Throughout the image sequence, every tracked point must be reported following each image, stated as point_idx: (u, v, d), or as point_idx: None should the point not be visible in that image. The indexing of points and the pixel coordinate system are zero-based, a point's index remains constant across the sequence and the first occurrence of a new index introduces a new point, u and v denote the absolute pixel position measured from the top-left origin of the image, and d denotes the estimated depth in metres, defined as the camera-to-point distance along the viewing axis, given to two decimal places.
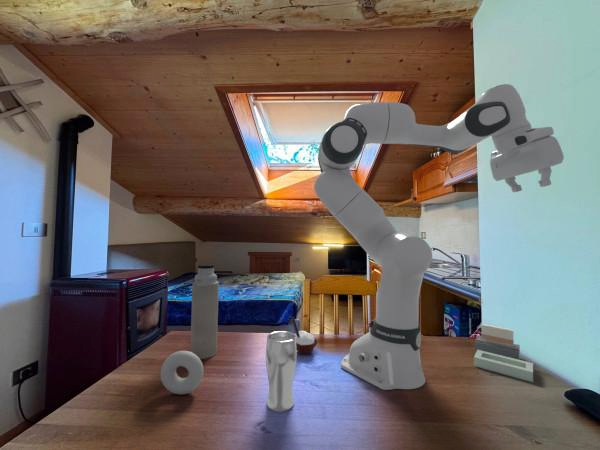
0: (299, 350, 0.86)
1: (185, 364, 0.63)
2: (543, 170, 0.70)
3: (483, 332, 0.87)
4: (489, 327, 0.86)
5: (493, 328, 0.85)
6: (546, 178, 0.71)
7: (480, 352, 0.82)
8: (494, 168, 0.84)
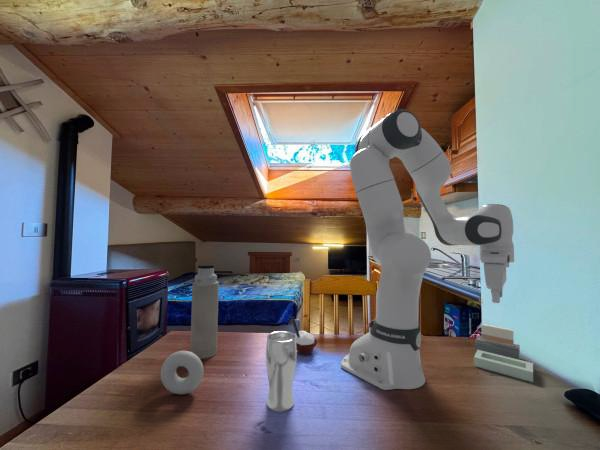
0: (299, 350, 0.86)
1: (185, 364, 0.63)
2: (491, 289, 0.82)
3: (483, 332, 0.87)
4: (489, 327, 0.86)
5: (493, 328, 0.85)
6: (495, 296, 0.82)
7: (480, 352, 0.82)
8: None
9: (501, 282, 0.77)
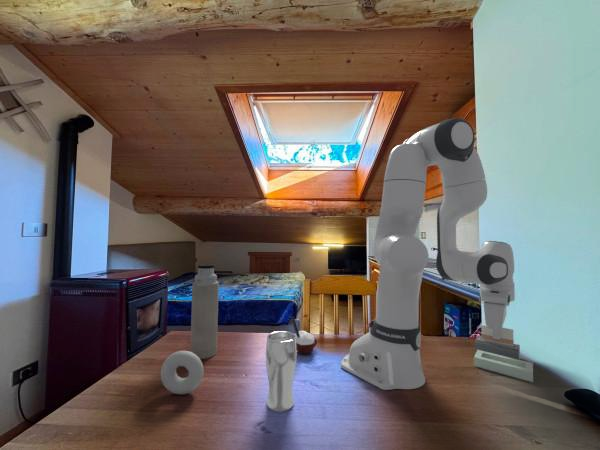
0: (299, 350, 0.86)
1: (185, 364, 0.63)
2: None
3: (483, 332, 0.87)
4: None
5: None
6: (496, 333, 0.84)
7: (480, 352, 0.82)
8: None
9: (501, 323, 0.77)
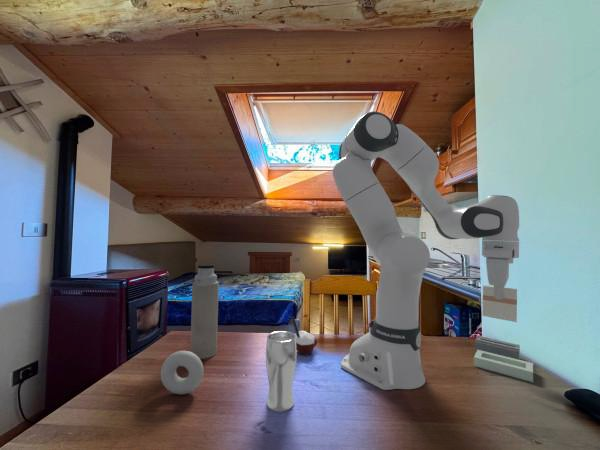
0: (299, 350, 0.86)
1: (185, 364, 0.63)
2: None
3: (484, 293, 0.81)
4: (491, 287, 0.81)
5: None
6: (498, 292, 0.78)
7: (480, 352, 0.82)
8: None
9: (505, 278, 0.71)
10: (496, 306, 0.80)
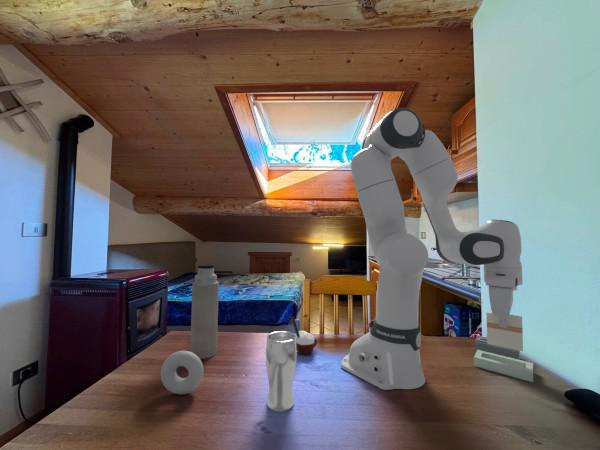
0: (299, 350, 0.86)
1: (185, 364, 0.63)
2: None
3: (488, 320, 0.79)
4: None
5: None
6: (502, 320, 0.76)
7: (480, 352, 0.82)
8: None
9: (508, 309, 0.69)
10: (501, 334, 0.77)
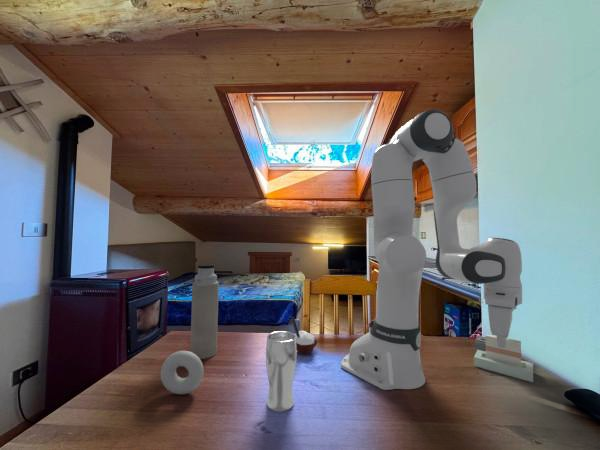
0: (299, 350, 0.86)
1: (185, 364, 0.63)
2: None
3: (487, 344, 0.79)
4: (494, 338, 0.78)
5: None
6: (501, 340, 0.74)
7: (480, 352, 0.82)
8: None
9: (508, 329, 0.69)
10: (499, 358, 0.77)
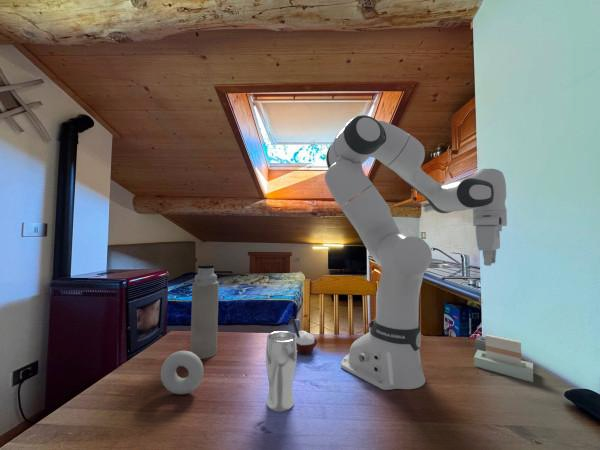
0: (299, 350, 0.86)
1: (185, 364, 0.63)
2: (483, 251, 0.82)
3: (487, 344, 0.79)
4: (494, 338, 0.78)
5: (498, 339, 0.77)
6: (487, 259, 0.82)
7: (480, 352, 0.82)
8: None
9: (492, 243, 0.78)
10: (499, 358, 0.77)
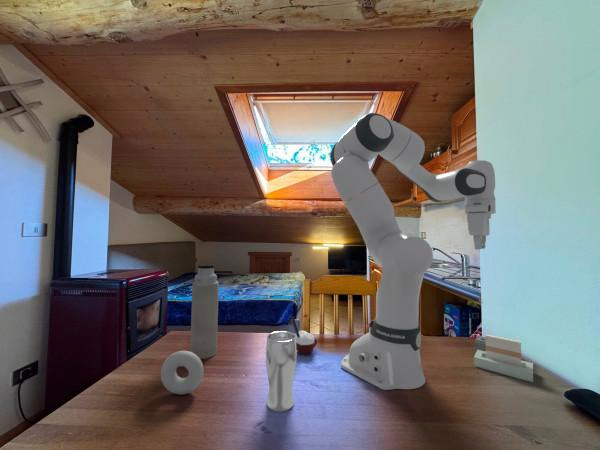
0: (299, 350, 0.86)
1: (186, 364, 0.63)
2: (473, 236, 0.89)
3: (487, 344, 0.79)
4: (494, 338, 0.78)
5: (498, 339, 0.77)
6: (477, 243, 0.89)
7: (480, 352, 0.82)
8: None
9: (482, 228, 0.85)
10: (499, 358, 0.77)
